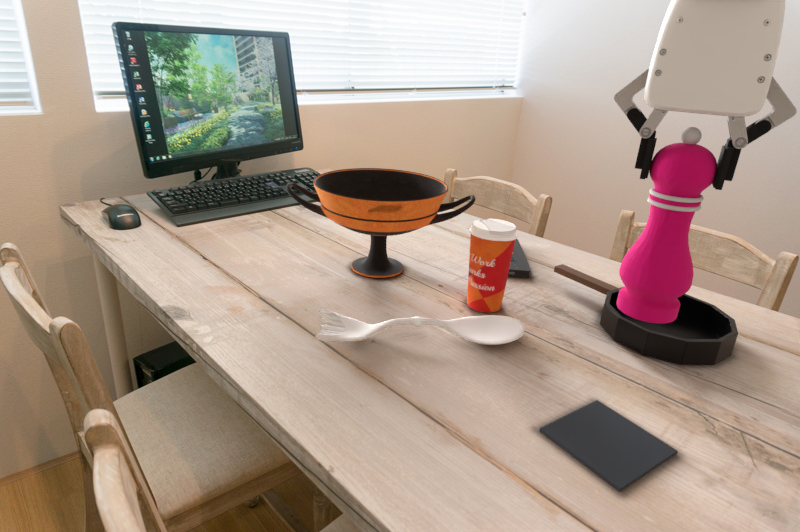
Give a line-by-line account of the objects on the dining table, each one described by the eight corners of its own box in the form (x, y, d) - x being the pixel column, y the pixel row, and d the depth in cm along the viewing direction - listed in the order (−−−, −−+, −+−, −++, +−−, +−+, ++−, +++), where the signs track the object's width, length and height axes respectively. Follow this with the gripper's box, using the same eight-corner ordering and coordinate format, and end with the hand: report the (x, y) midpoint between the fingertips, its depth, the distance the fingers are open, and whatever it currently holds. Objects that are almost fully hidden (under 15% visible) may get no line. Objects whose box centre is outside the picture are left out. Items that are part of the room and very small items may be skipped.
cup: (271, 287, 96) (268, 192, 89) (303, 240, 119) (302, 162, 113) (470, 302, 95) (482, 207, 88) (462, 252, 118) (471, 174, 112)
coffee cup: (452, 298, 96) (460, 219, 90) (489, 292, 99) (499, 215, 94) (478, 319, 89) (489, 235, 83) (517, 311, 92) (530, 230, 87)
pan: (751, 344, 86) (759, 322, 85) (688, 378, 76) (696, 354, 74) (586, 273, 111) (590, 256, 109) (520, 292, 100) (524, 272, 99)
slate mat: (677, 453, 61) (678, 450, 61) (619, 491, 55) (620, 488, 55) (596, 402, 69) (597, 399, 69) (539, 430, 63) (539, 428, 63)
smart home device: (490, 267, 106) (483, 235, 125) (489, 275, 107) (482, 242, 126) (532, 270, 106) (518, 238, 125) (531, 278, 107) (517, 244, 125)
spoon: (317, 324, 84) (317, 304, 83) (512, 324, 88) (514, 305, 87) (315, 354, 76) (315, 333, 74) (530, 353, 80) (533, 332, 78)
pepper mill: (615, 319, 56) (661, 128, 49) (608, 292, 63) (647, 119, 55) (688, 331, 55) (747, 135, 47) (673, 302, 61) (723, 126, 54)
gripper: (840, -13, 46) (773, 188, 53) (630, -15, 53) (595, 164, 60) (865, -26, 40) (786, 204, 47) (624, -26, 47) (585, 175, 54)
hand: (679, 180), depth 53 cm, fingers closed on pepper mill, 6 cm apart
